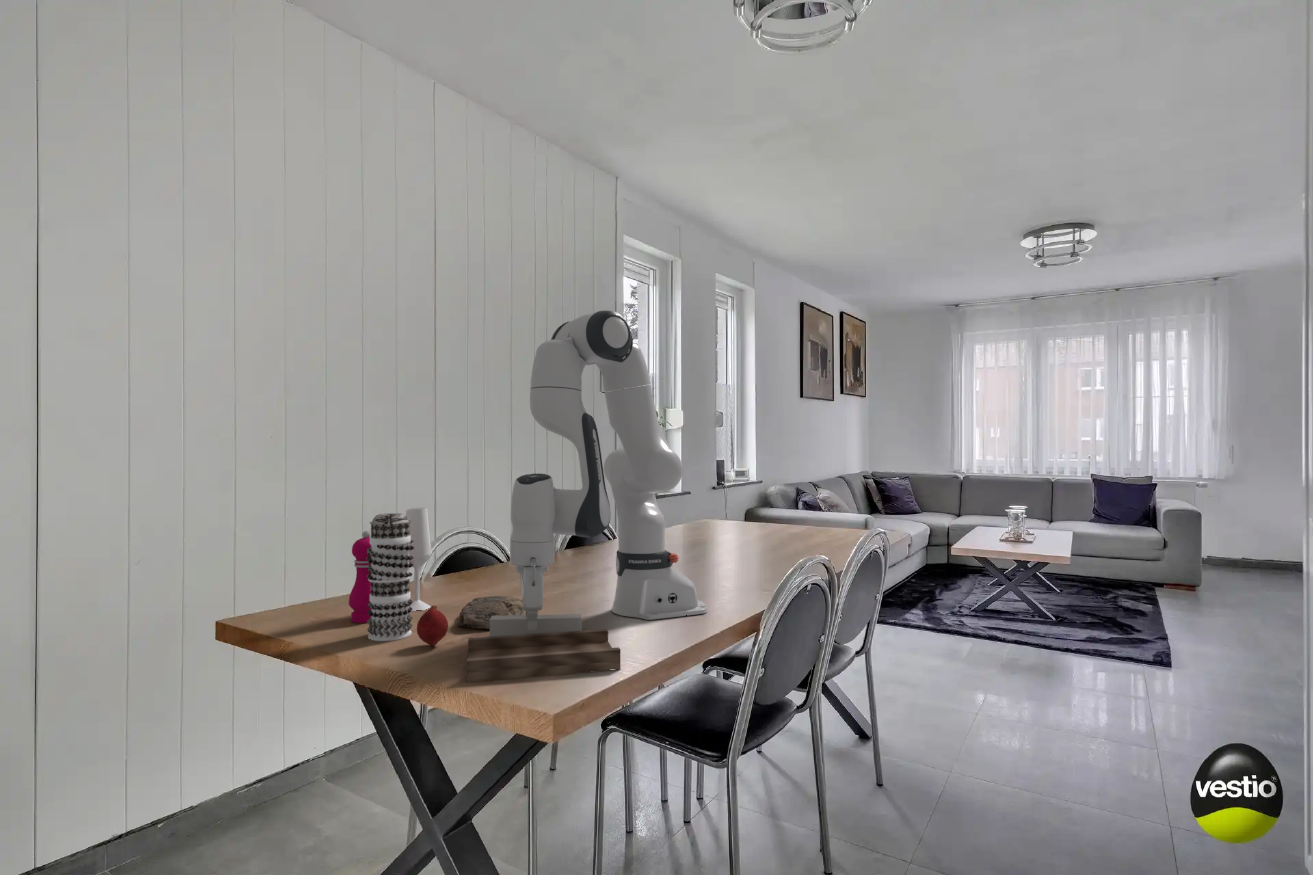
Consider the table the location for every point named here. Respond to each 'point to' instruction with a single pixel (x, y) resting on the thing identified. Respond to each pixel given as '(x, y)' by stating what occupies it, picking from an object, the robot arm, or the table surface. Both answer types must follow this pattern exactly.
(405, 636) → the decorative candle
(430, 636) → the onion
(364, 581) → the pepper mill
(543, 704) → the table surface
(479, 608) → the rough brown rock
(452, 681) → the table surface
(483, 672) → the grooved wooden tray
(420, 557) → the champagne flute
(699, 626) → the table surface
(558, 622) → the clay strip
